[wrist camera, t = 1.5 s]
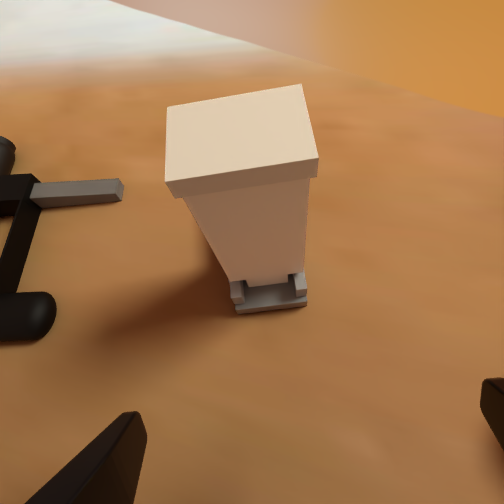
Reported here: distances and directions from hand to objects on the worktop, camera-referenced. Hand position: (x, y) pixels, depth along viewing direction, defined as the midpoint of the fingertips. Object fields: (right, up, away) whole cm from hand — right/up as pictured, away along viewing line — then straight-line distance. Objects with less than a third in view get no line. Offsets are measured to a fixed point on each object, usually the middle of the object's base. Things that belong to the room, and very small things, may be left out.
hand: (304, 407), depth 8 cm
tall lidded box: (0, +3, +15) cm, 15 cm away
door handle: (-21, +6, +21) cm, 30 cm away
